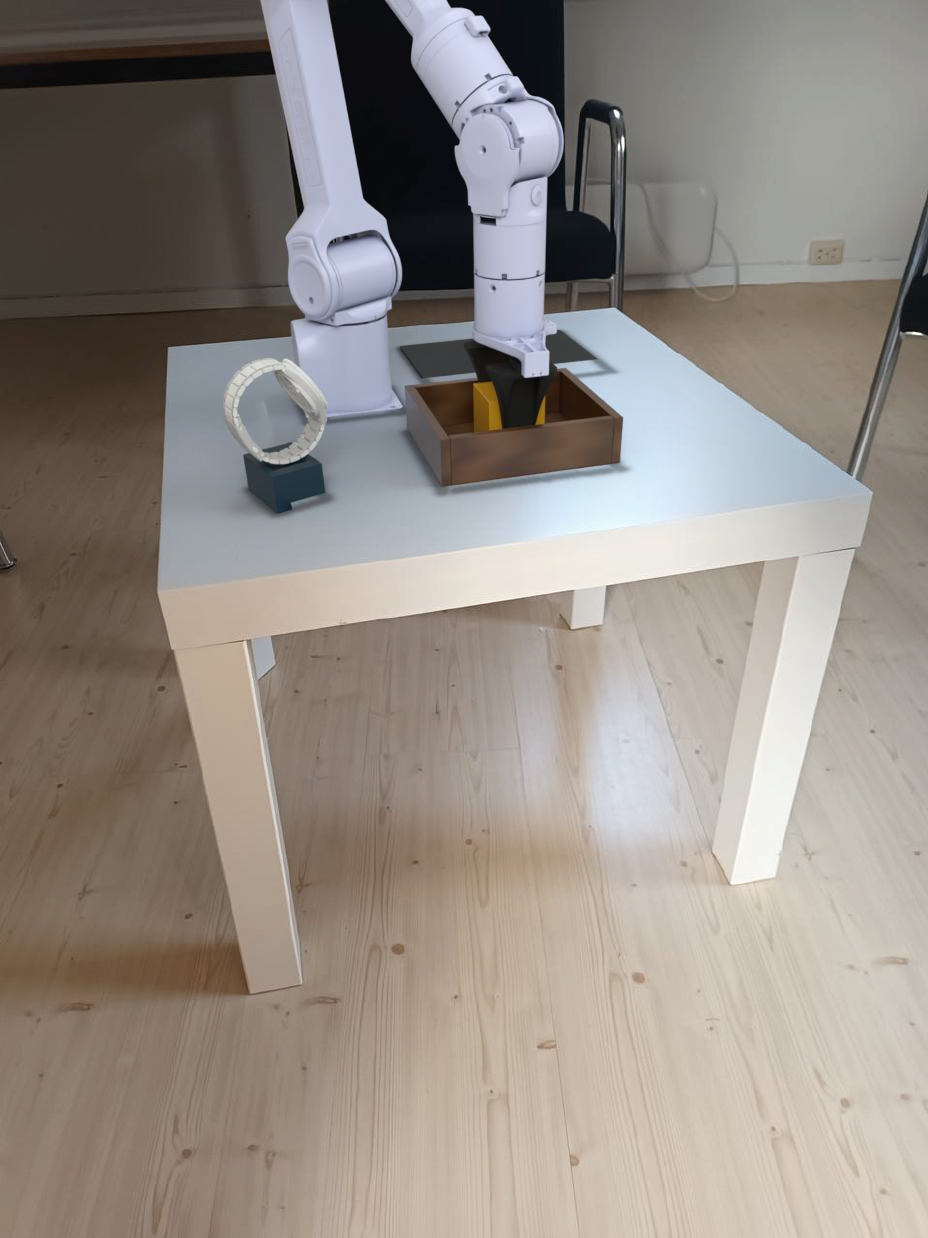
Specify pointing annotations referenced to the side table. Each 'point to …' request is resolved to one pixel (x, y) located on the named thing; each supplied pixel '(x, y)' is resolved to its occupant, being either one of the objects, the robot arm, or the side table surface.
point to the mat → (456, 361)
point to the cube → (492, 408)
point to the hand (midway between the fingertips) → (508, 432)
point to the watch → (289, 465)
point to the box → (511, 432)
